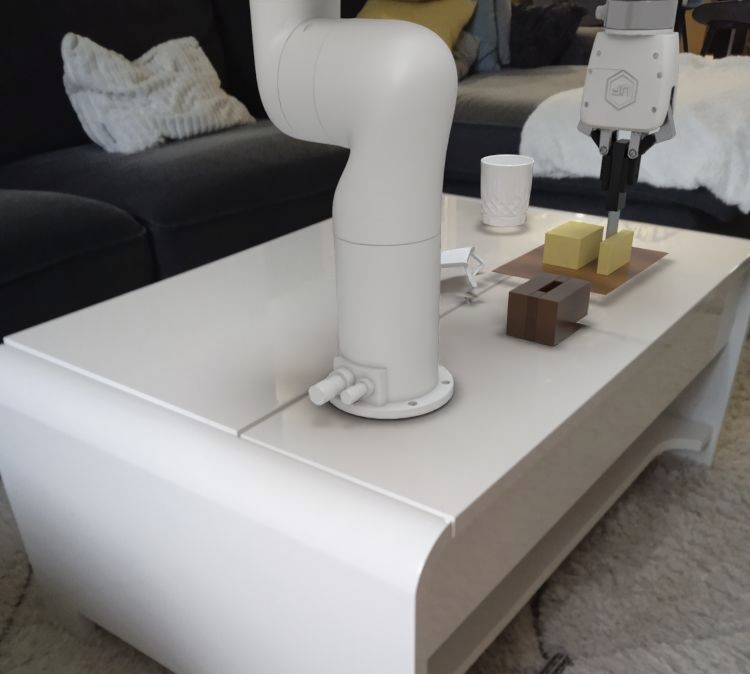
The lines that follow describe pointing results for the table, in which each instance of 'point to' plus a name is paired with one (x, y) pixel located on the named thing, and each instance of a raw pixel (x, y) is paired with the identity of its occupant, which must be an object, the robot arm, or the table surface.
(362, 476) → the table surface
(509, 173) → the white cup
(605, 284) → the butter board
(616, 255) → the butter slice
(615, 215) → the knife
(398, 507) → the table surface
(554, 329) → the knife block
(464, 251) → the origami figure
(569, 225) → the butter block
